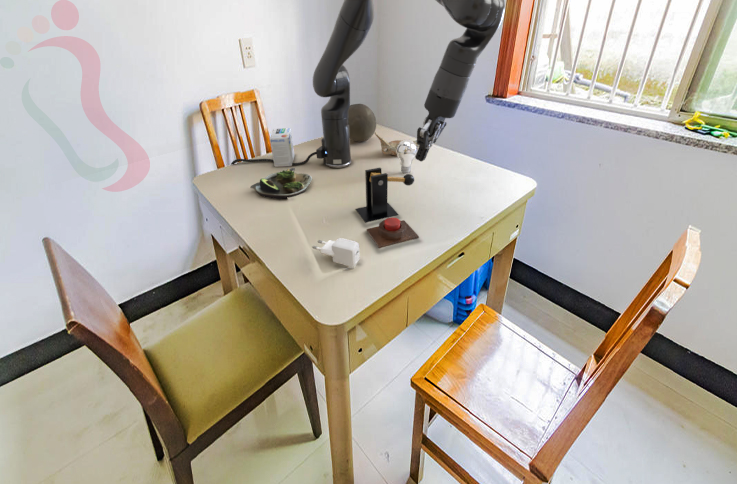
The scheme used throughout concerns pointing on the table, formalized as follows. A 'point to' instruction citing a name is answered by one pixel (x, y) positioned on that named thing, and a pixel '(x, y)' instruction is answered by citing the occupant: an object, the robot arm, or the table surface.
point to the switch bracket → (376, 197)
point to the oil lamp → (390, 145)
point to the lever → (399, 179)
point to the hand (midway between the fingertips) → (419, 159)
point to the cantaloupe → (361, 122)
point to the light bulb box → (282, 147)
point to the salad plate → (283, 184)
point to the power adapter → (341, 251)
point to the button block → (391, 234)
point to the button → (392, 224)
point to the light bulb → (406, 154)
